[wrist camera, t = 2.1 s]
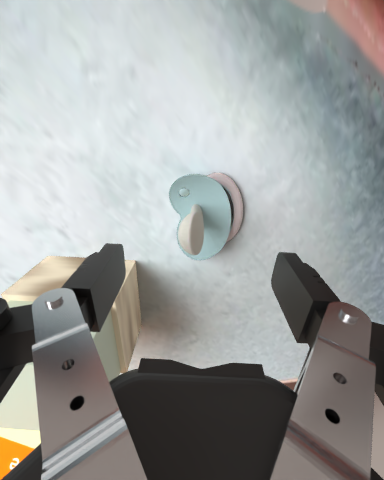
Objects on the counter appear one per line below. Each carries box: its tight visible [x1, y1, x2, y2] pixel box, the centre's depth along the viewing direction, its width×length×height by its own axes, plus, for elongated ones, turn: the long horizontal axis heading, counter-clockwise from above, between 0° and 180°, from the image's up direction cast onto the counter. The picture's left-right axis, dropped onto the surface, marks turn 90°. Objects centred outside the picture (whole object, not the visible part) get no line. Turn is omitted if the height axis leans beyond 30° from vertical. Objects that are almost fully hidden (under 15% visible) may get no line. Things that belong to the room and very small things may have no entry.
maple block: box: [1, 256, 142, 373], centre depth 22 cm, size 9×9×6 cm
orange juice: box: [0, 428, 41, 480], centre depth 23 cm, size 8×9×20 cm
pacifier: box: [169, 173, 243, 260], centre depth 17 cm, size 7×6×6 cm
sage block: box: [0, 300, 121, 431], centre depth 17 cm, size 8×8×5 cm
